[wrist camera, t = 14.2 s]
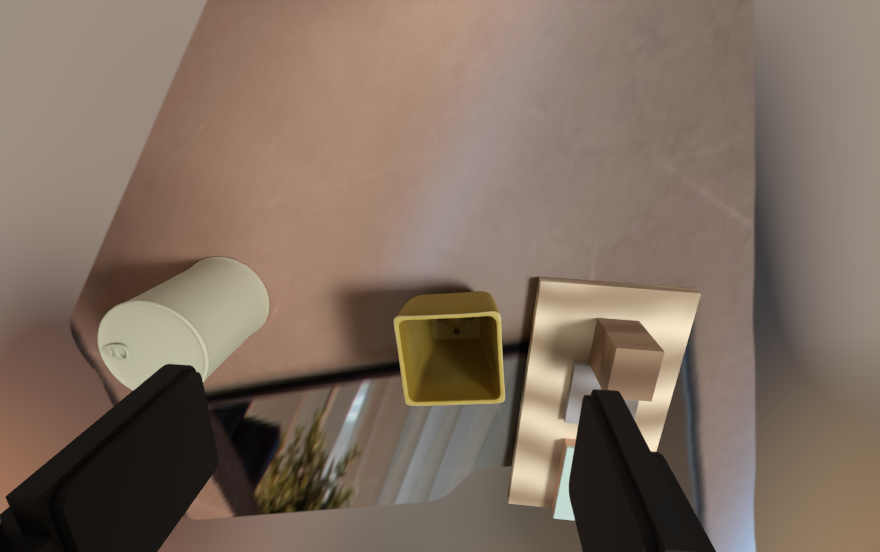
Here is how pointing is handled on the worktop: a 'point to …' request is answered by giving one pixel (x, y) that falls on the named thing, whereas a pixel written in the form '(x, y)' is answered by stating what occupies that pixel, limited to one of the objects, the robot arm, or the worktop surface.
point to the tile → (564, 483)
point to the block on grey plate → (616, 366)
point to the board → (570, 339)
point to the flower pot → (450, 349)
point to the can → (184, 321)
